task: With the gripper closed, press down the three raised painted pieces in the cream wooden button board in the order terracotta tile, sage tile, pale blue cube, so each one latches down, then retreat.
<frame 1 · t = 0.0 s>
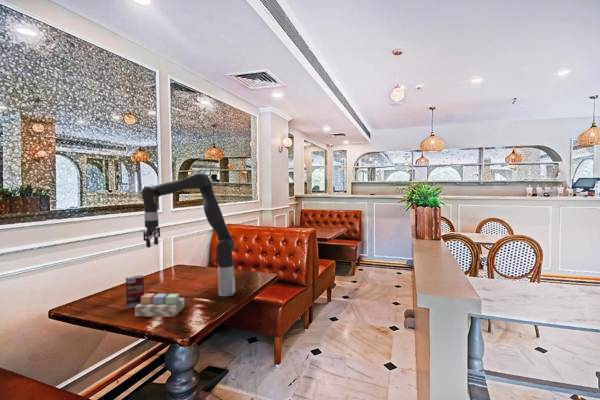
hand: (152, 245, 182), 29 cm above the table, fingers open, 8 cm apart
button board: (160, 311, 157), on the table
supplement box: (135, 306, 165), on the table
tile sage: (172, 299, 156), point 7 cm above the table, slide at 0.0 cm
pale blue cube: (160, 299, 157), point 6 cm above the table, slide at 0.0 cm
tile terracotta: (148, 299, 157), point 7 cm above the table, slide at 0.0 cm
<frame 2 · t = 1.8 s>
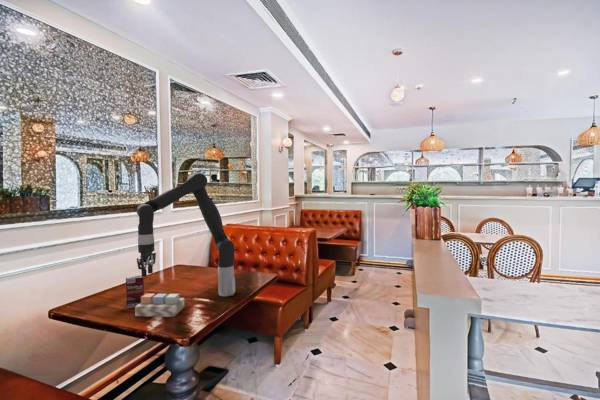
hand: (147, 274, 156), 19 cm above the table, fingers open, 5 cm apart
nothing on the table moved.
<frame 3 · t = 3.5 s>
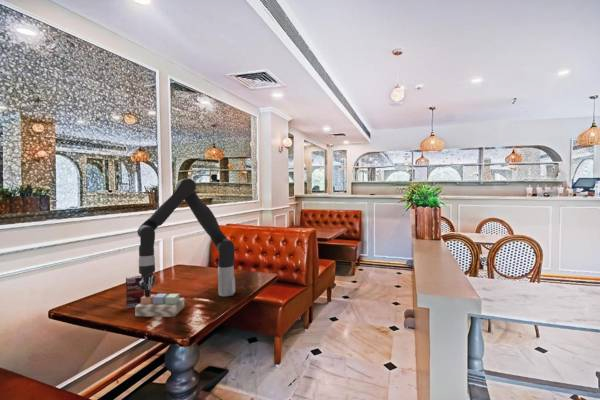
hand: (147, 296, 157), 8 cm above the table, fingers closed
tile terracotta: (148, 300, 157), point 6 cm above the table, slide at 0.5 cm, touching gripper
everything else where it was.
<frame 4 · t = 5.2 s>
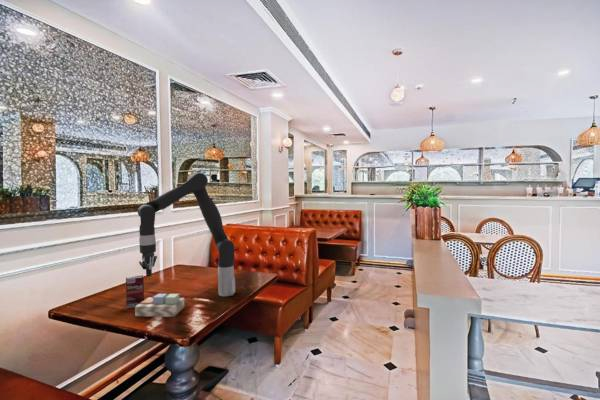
hand: (149, 276, 156), 19 cm above the table, fingers closed
tile terracotta: (148, 304, 157), point 4 cm above the table, slide at 2.9 cm
everything else where it was.
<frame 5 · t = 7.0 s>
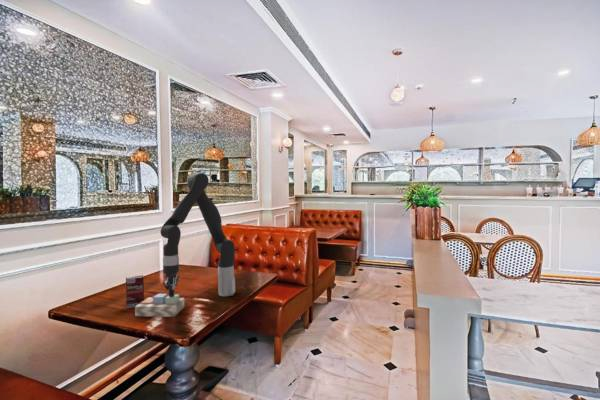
hand: (171, 296, 156), 8 cm above the table, fingers closed
tile sage: (172, 299, 156), point 6 cm above the table, slide at 0.4 cm, touching gripper
everything else where it was.
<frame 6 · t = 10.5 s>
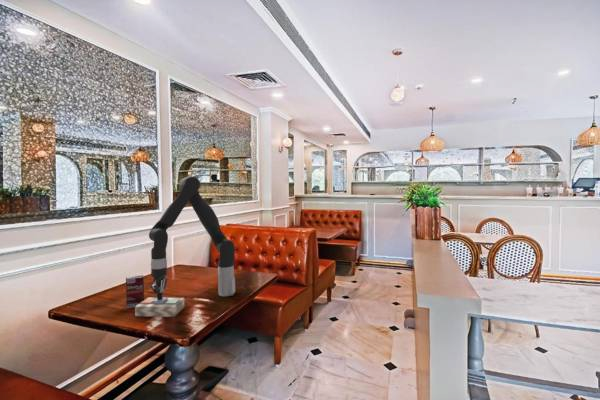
hand: (159, 299, 156), 6 cm above the table, fingers closed
tile sage: (172, 304, 156), point 4 cm above the table, slide at 2.9 cm
pale blue cube: (160, 303, 157), point 4 cm above the table, slide at 2.1 cm, touching gripper
everything else where it was.
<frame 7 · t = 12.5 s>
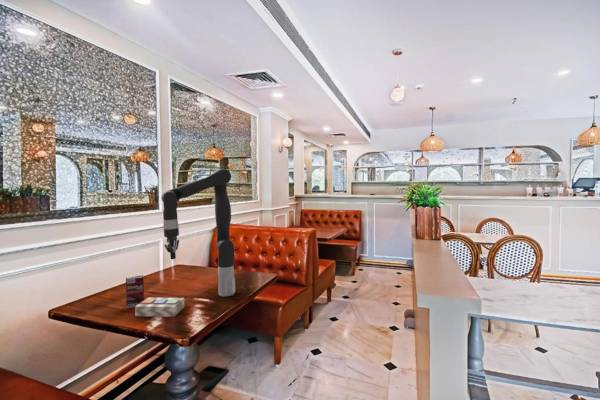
hand: (173, 258, 164), 26 cm above the table, fingers closed
pale blue cube: (160, 304, 157), point 4 cm above the table, slide at 2.9 cm
everything else where it was.
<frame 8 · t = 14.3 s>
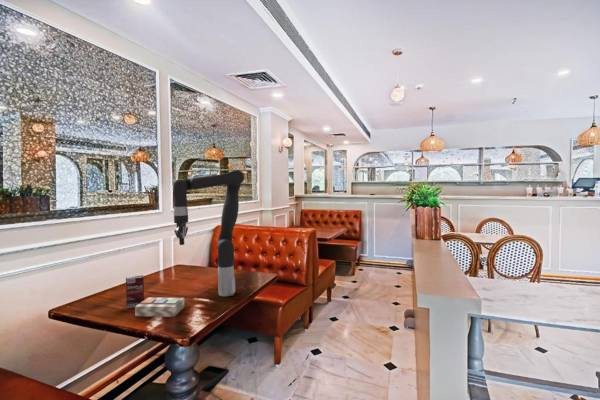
hand: (181, 244, 171), 32 cm above the table, fingers closed
nothing on the table moved.
at the end: tile terracotta slide at 2.9 cm; tile sage slide at 2.9 cm; pale blue cube slide at 2.9 cm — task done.
